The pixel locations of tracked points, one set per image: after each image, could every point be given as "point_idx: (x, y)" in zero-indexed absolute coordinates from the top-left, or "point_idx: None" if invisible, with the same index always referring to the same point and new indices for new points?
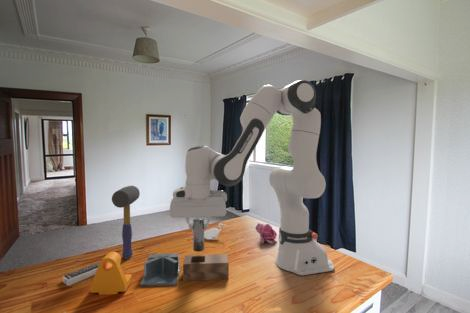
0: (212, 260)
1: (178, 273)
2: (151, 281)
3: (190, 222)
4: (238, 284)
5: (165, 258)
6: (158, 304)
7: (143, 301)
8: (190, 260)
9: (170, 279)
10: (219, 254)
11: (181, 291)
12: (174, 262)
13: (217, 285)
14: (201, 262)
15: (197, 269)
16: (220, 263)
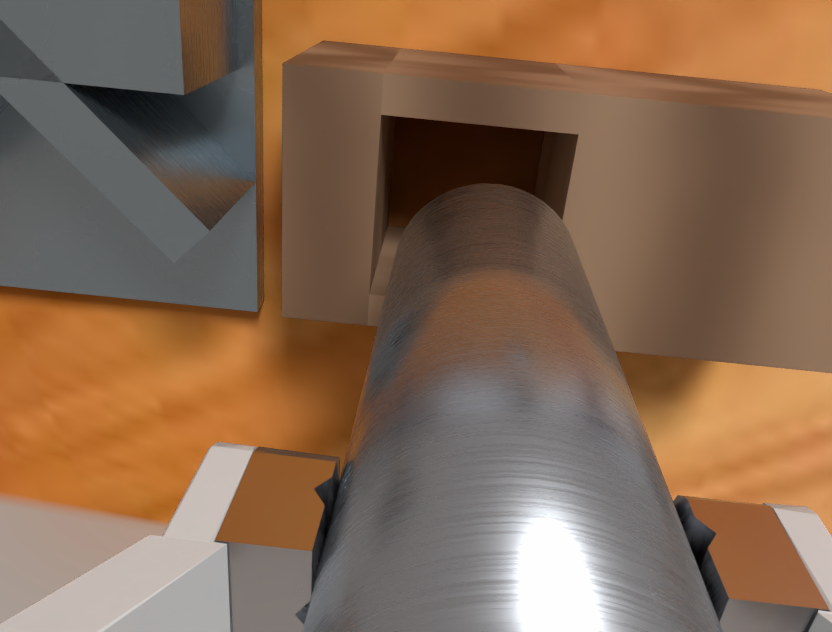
0: (652, 288)
1: (254, 154)
2: (22, 260)
3: (201, 586)
4: (808, 383)
5: (17, 108)
6: (176, 495)
7: (63, 451)
8: (367, 236)
9: (193, 257)
10: (807, 122)
11: (317, 391)
12: (168, 256)
13: (622, 365)
14: None
15: None
16: (730, 360)
